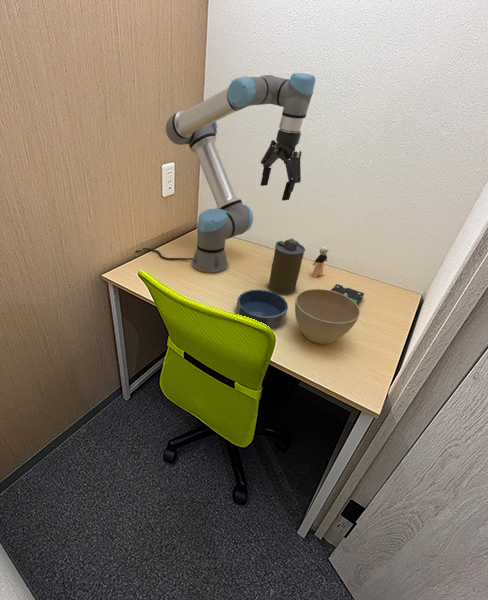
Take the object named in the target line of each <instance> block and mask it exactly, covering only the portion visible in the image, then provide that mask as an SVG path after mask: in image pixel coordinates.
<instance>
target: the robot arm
mask: <svg viewBox="0 0 488 600" xmlns="http://www.w3.org/2000/svg"><path fill="white" fill-rule="evenodd" d="M315 84H316V76H315V75H313V74H310V73H304V72H294V73H292V74H291V75H290V78H283V77H278V76H275V75H273V74H272V75H271V74H262V75H260V76H241V77H235V78H234V79H233V80H232V81H231V82H230V84H229V85H228V87H226V88H225V89H223V90H221V91H219V92H218V93H215V94H213V95H212V96H210V97H208V98H206V99H205V100H203V101H201V102H198V104H195V105H194V106H192V107H191V108H188V109H186V110H185V109H184V110H183V109H181V110H179V111H177V112H175V113H174V114H172V115H171V116H169V117H168V119H167V121H166V123H165V133H166V136H167V138H168V139H169V141H171V143H173V144H175V145H179V146H185V145H188V147H189V149H190V151H191V152H192V153H194V154H195V155H196V157H197V159H198V162H199V164H200V166H201V169H202V172H203V175H204V176H205V178H206V181H207V184H208V186H209V190H210V191H211V194H212V196H213V200H214V202H215V204H216V207H215V208H208V209H206V210H204V211H202V212H201V213H200V214H199V215H198V219H197V224H196V225H197V230H196V231H197V233H196V235H197V236H196V249H195V252H194V254H193V257H166V256H163V255H162V254H161V253H160V251H159V250H157V249H152V248H147V247H143V249H142V250H138V249H137V250H138V251H137V250H135V253H139V252H140V251H150V252H155V253H157V254H158V256H159V257H160V258H162V259H164V260H169V261H173V260H177V261H179V260H180V261H181V260H183V261H191V267H192V268H193V269H194V270H195V271H197V272H200V273H203V274H218V273H223V272H224V271H225V270H226V269H227V268H228V257H227V254H226V249H225V247H226V240H229V239H231V238H234V237H236V236H240V235H243V234H245V233H246V232H248V231H249V230H250V229H251V228H252V225H253V222H254V214H253V211H252V209H251V207H250V206H248V205H246V204H244V203H243V201H242V199H241V198H240V197H237V196H236V193H235V191H234V188H233V186H232V183H231V181H230V179H229V176H228V173H227V171H226V168H225V166H224V164H223V160H222V158H221V156H220V153H219V151H218V149H217V146H216V141H217V135H218V134H217V133H218V130H217V129H218V123H217V121H219V120H221V119H224V118H226V117H228V116H230V115H232V114H234V113H236V112H239V111H241V110H243V109H245V108H247V107H251V106H262V105H274V106H278V107H281V108H282V113H281V117H280V119H279V125H278V128H279V129H278V130H277V134H276V138H275V139H272V140H271V141H270V144H269V147H268V148H267V150H266V152H265V154H264V155H263V157H262V159H261V160H260V164H261V165H262V167H263V169H262V173H261V181H260V186H261V187H264V186H268V185H269V180H270V175H271V171H272V166H273V164H274V163H275V162H277V160H279V159H280V160H281V161H282V162H283V164H284V165H285V169H286V176H287V180H288V181H286V182H285V186H284V189H283V193H282V197H281V201H282V202H284V201H289V200H290V199H291V194H292V193H293V191H294V188H295V186H296V184H299V183H300V184H301V182H302V177H301V176H302V175H301V173H302V171H301V167H302V166H301V157H302V151H301V150H296V147H297V145H299V143H300V140H301V137H302V131H303V128H304V125H305V122H306V117H307V113H308V111H309V106H310V103H311V100H312V96H313V95H314V88H315Z"/></svg>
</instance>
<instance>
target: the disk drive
mask: <svg viewBox="0 0 488 600" xmlns="http://www.w3.org/2000/svg"><path fill="white" fill-rule="evenodd" d="M330 291H334V292H338V293H340V294H343V295H345V296H347V297H348V298H350V299H351V300H353V301H354V302H355V303H356V304H357V305H358V306H359V304H360V302H361V301H362V300H363V298H364V295H365V293H364V292H362V291H359V290H356V289H353V288H350V287H344V286H343V285H341V284H338V283H336V284H335V285H334V286H333V287H332V288H331V290H330Z"/></svg>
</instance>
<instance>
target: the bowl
mask: <svg viewBox="0 0 488 600" xmlns="http://www.w3.org/2000/svg"><path fill="white" fill-rule="evenodd" d="M288 309H289V306H288V302H287V301H286V299H285V298H284V297H282V295H280V294H276V293H274V292H272V291H271V290H266V289H249V290H247V291H246V290H245V291H244V292H242V293H241V294H240V295H239V296H238V297H237V302H236V309H235V311H236V312H235V314H236V315H237V314H239V315H242V316H246V317H249V318H252V319H255V320H257V321H259V322H262V323H264V324H266V325H267V326H269V327H270V328H271V329H270V330H274V329H278V328H280V327H281V326H283V324H284V323H285V322H286V318H287V314H288Z"/></svg>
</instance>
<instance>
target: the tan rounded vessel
mask: <svg viewBox="0 0 488 600" xmlns="http://www.w3.org/2000/svg"><path fill="white" fill-rule="evenodd" d="M294 301H295V303H294V314H295V320H296V323H297V326H298V327H299V329H300V331H301V333H302V335H304V337H305V338H306V339H307V340H309V341H311V342H312V343H315V344H319V345H327V344H329V343H332V342H335V341H337V340H339V339H341V338H342V337H344V336H345V335H346V334H347V333H348V332H349V331H350V330H351V329H352V328H353V327H354V326H355V325H356V322H357V321H358V320H359V317H360V315H361V309H360V307H359V304H358V305H357V304H356V303H355V302H354V301H353V300H351V299H350V298H348V297H347V296H345V295H343V294H340V293H338V292H334V291H331V290H330V289H324V288H311V289H306V290H303V291H301V292H299V293H298V294H297V296H296V297H295V300H294Z"/></svg>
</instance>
